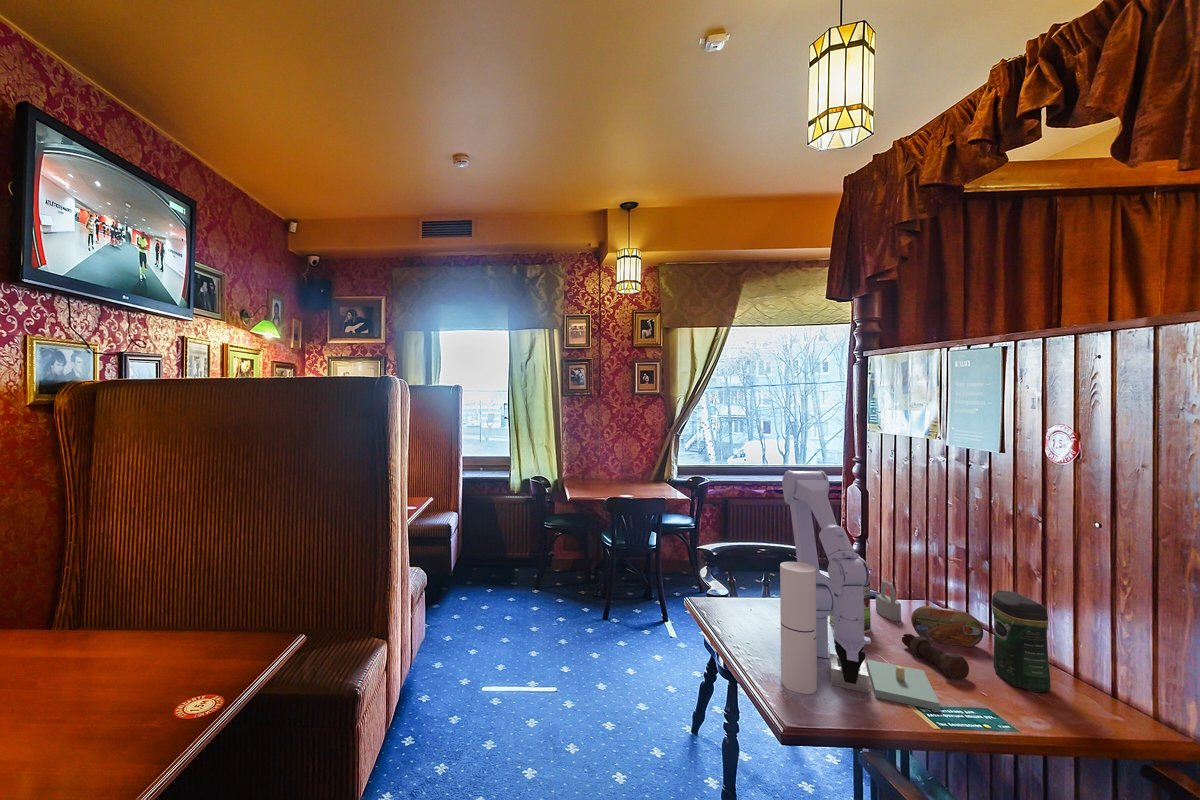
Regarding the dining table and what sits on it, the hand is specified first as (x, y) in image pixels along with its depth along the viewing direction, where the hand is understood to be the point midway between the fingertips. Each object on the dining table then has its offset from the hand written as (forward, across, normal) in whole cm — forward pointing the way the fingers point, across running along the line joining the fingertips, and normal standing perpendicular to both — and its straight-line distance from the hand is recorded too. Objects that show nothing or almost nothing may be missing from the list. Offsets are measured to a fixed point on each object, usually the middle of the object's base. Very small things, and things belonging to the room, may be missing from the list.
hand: (849, 679), depth 97 cm
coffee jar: (+2, +19, -35) cm, 40 cm away
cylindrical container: (+2, -3, +10) cm, 11 cm away
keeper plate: (+2, +5, -10) cm, 11 cm away
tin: (+2, +34, -25) cm, 42 cm away
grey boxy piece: (+2, +3, 0) cm, 3 cm away
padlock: (+2, +46, -14) cm, 48 cm away
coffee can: (+2, +34, -3) cm, 34 cm away
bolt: (+2, +20, -19) cm, 28 cm away
